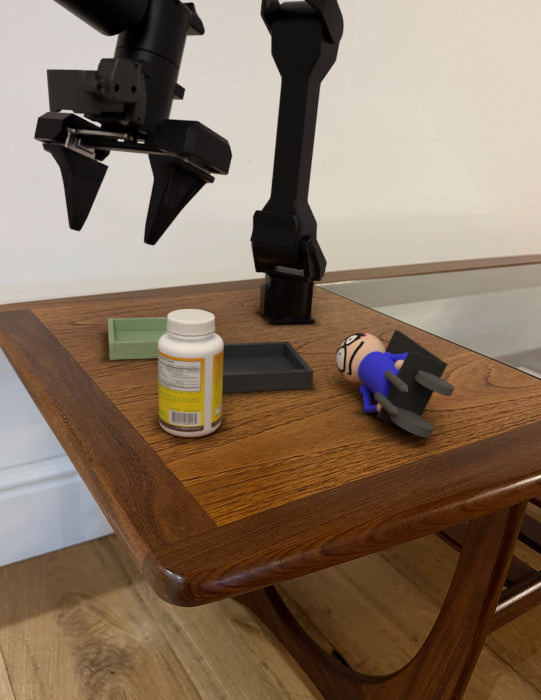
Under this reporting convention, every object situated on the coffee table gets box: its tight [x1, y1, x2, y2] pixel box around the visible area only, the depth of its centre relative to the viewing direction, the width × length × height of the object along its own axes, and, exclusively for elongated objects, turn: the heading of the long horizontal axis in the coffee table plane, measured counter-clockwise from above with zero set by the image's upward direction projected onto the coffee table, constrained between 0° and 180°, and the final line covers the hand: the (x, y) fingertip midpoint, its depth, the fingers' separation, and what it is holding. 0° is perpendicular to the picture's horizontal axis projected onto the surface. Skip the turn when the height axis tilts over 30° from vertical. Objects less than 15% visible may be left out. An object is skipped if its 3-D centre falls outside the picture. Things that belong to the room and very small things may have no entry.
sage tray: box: [107, 316, 167, 361], centre depth 74 cm, size 11×9×2 cm
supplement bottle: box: [157, 308, 225, 438], centre depth 53 cm, size 6×6×10 cm
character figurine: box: [335, 329, 455, 438], centre depth 58 cm, size 8×7×15 cm
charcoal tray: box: [222, 341, 314, 394], centre depth 66 cm, size 11×9×2 cm
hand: (110, 237), depth 55 cm, fingers open, 9 cm apart
